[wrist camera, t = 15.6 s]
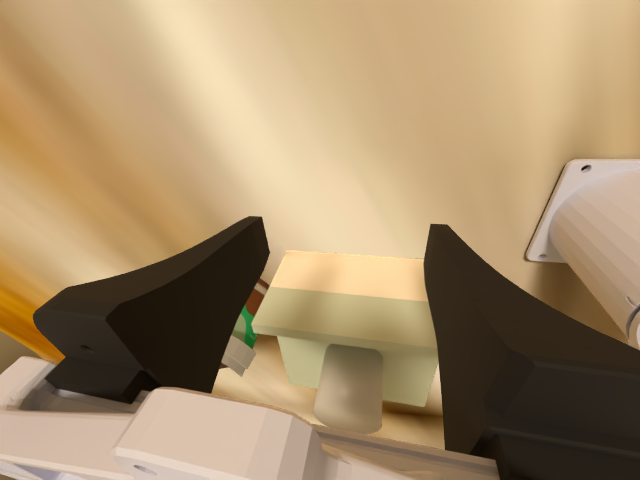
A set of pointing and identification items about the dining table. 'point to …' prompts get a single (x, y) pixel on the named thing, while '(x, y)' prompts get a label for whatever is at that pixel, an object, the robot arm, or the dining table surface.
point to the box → (352, 275)
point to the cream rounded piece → (350, 389)
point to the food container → (244, 333)
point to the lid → (353, 337)
